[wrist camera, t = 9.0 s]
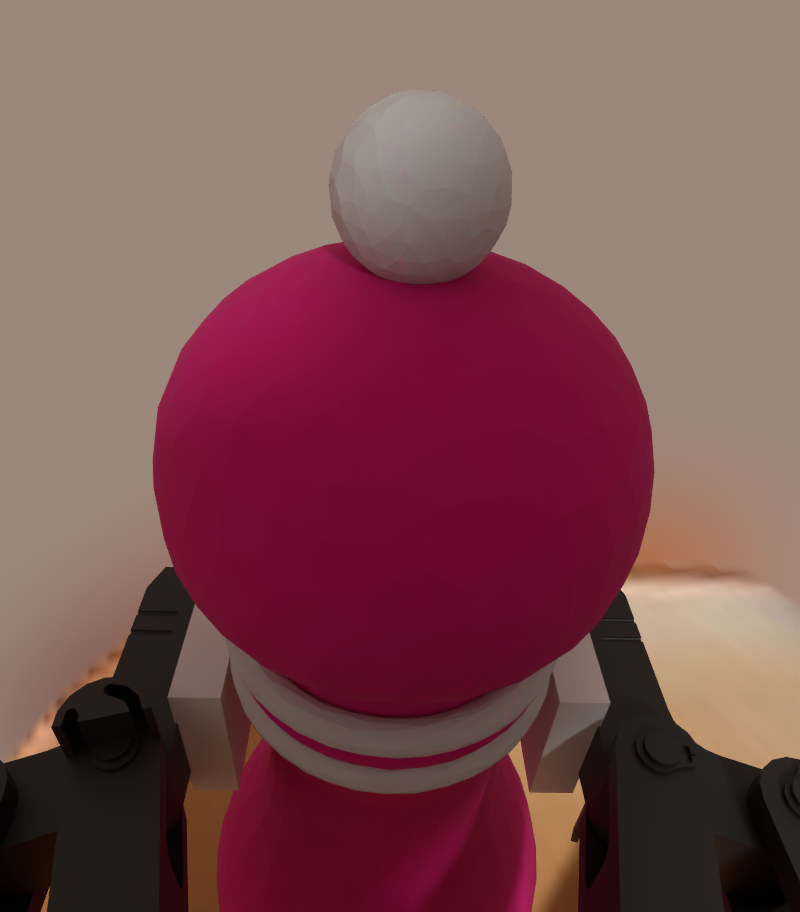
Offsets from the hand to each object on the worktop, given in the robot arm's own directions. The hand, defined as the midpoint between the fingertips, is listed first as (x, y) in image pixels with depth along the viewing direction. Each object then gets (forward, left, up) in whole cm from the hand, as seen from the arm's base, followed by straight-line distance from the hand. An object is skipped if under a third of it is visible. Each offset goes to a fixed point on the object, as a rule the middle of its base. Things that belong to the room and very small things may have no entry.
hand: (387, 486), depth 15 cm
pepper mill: (+1, +5, -11) cm, 12 cm away
